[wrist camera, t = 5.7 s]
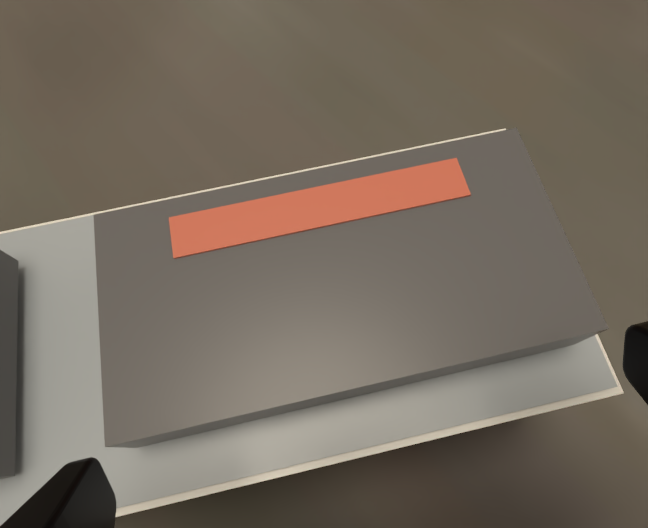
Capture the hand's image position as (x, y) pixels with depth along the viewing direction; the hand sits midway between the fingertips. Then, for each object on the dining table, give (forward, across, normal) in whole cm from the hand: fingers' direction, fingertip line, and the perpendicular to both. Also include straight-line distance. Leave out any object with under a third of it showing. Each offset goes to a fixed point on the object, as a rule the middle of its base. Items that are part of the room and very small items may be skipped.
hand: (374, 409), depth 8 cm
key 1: (+6, 0, +1) cm, 6 cm away
